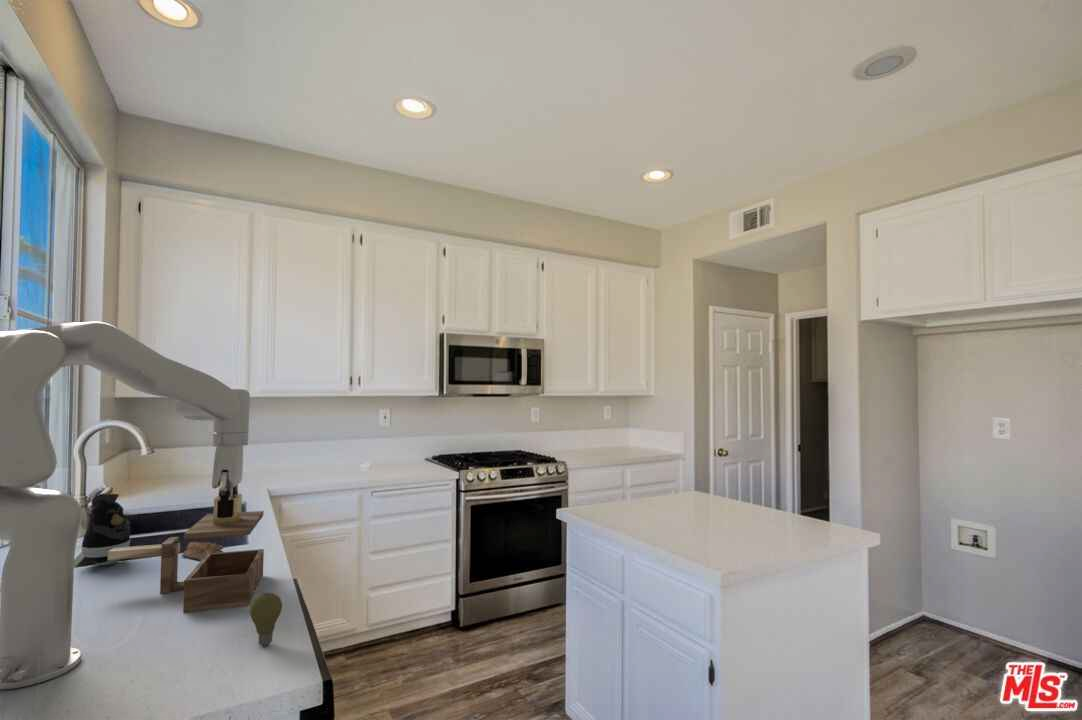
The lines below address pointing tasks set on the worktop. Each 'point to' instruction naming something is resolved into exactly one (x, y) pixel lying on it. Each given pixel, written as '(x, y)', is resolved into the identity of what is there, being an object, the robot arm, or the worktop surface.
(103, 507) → the black rounded piece
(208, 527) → the lid
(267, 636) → the light bulb
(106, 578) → the worktop surface
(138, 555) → the wooden key
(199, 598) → the wooden box
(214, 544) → the wooden fragment
